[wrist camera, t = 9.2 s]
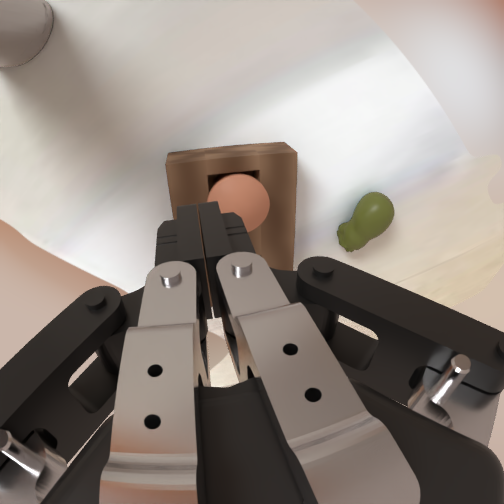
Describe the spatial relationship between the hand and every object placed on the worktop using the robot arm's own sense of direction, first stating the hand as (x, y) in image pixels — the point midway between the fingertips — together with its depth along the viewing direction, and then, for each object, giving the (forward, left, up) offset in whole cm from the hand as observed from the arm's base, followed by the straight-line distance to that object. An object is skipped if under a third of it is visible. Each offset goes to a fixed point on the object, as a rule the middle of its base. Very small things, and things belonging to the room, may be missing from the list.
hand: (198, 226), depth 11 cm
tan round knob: (+4, -8, -24) cm, 25 cm away
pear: (+23, -15, -27) cm, 38 cm away
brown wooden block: (+4, -14, -26) cm, 30 cm away
